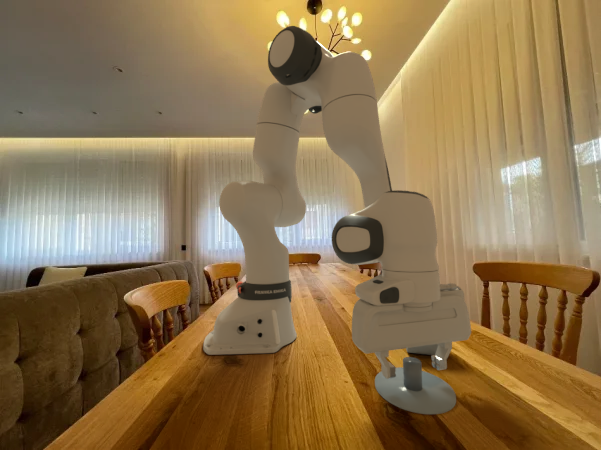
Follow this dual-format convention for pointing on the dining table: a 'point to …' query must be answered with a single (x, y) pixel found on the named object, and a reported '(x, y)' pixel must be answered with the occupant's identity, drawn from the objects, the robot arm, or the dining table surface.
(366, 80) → the robot arm
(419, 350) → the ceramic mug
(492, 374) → the dining table surface
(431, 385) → the lid
